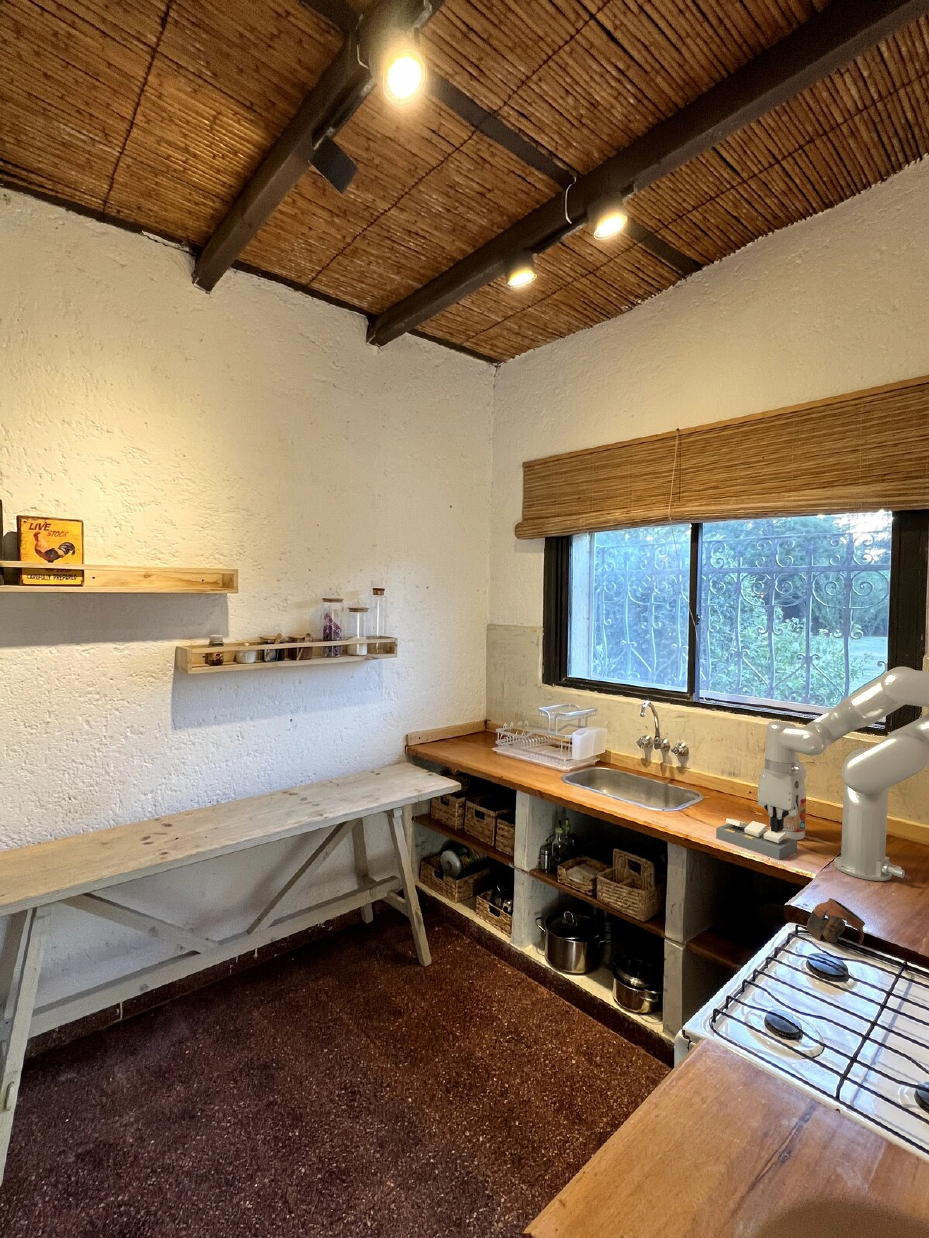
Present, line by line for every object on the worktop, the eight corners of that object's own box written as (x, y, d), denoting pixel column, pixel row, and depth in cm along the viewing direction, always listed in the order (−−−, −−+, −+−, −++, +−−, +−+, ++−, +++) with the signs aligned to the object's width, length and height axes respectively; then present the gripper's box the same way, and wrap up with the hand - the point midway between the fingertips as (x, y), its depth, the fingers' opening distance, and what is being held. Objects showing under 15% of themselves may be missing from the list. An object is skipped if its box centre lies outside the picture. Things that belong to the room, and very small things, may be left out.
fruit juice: (764, 827, 184) (767, 737, 183) (797, 830, 182) (800, 739, 182) (775, 839, 174) (778, 744, 174) (810, 841, 173) (812, 745, 173)
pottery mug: (802, 921, 129) (824, 890, 128) (847, 955, 124) (870, 923, 123) (801, 932, 119) (825, 898, 118) (850, 969, 114) (875, 934, 113)
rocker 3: (787, 836, 165) (786, 831, 165) (778, 844, 162) (778, 838, 162) (772, 832, 169) (772, 827, 168) (763, 839, 166) (763, 834, 165)
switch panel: (796, 851, 166) (797, 840, 166) (778, 860, 160) (779, 848, 160) (734, 830, 180) (735, 820, 180) (716, 838, 174) (716, 827, 174)
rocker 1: (747, 828, 174) (748, 823, 174) (739, 827, 171) (739, 822, 171) (734, 824, 177) (735, 819, 177) (725, 823, 174) (726, 818, 174)
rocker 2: (767, 829, 170) (766, 825, 169) (758, 837, 167) (758, 833, 167) (753, 825, 173) (752, 820, 173) (744, 833, 170) (744, 828, 170)
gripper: (814, 771, 162) (810, 837, 163) (760, 758, 174) (756, 820, 175) (801, 775, 158) (797, 843, 159) (746, 761, 170) (743, 825, 171)
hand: (776, 831), depth 167 cm, fingers closed
